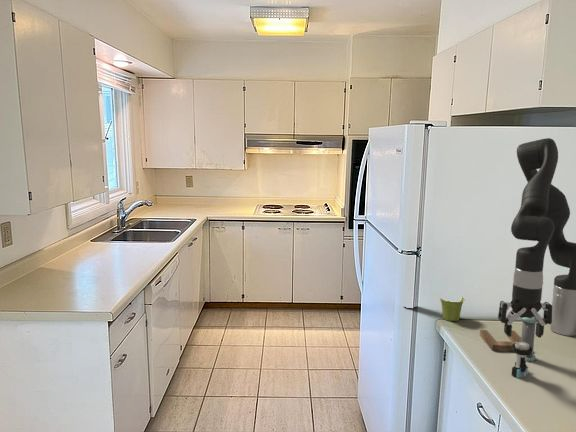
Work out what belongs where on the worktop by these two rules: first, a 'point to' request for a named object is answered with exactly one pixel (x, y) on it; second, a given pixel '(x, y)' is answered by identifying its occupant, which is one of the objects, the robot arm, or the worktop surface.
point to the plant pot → (451, 309)
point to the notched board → (499, 345)
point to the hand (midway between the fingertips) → (523, 336)
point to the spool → (528, 335)
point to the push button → (521, 358)
